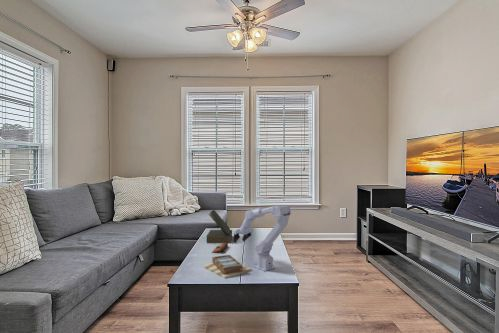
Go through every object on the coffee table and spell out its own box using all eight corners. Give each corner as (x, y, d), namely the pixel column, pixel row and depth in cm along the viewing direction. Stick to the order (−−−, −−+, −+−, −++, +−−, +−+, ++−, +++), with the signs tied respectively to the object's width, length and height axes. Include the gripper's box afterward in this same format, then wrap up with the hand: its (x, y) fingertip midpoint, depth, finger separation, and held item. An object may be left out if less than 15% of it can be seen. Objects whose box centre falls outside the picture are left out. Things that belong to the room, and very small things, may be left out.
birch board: (251, 270, 180) (251, 268, 180) (224, 278, 167) (224, 276, 167) (228, 260, 198) (228, 258, 198) (202, 266, 185) (202, 265, 185)
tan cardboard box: (242, 271, 175) (242, 265, 175) (223, 274, 170) (223, 268, 170) (229, 259, 195) (229, 254, 195) (212, 262, 190) (212, 257, 190)
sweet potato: (217, 246, 231) (221, 239, 231) (224, 251, 230) (229, 244, 230) (211, 253, 213) (215, 245, 213) (219, 258, 213) (223, 250, 212)
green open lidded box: (230, 243, 239) (230, 213, 239) (206, 243, 240) (206, 213, 239) (232, 236, 262) (232, 208, 262) (210, 236, 263) (210, 208, 262)
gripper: (251, 221, 202) (244, 236, 207) (234, 222, 193) (227, 238, 197) (257, 227, 197) (249, 243, 202) (240, 229, 188) (232, 245, 193)
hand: (238, 241), depth 199 cm, fingers open, 7 cm apart
